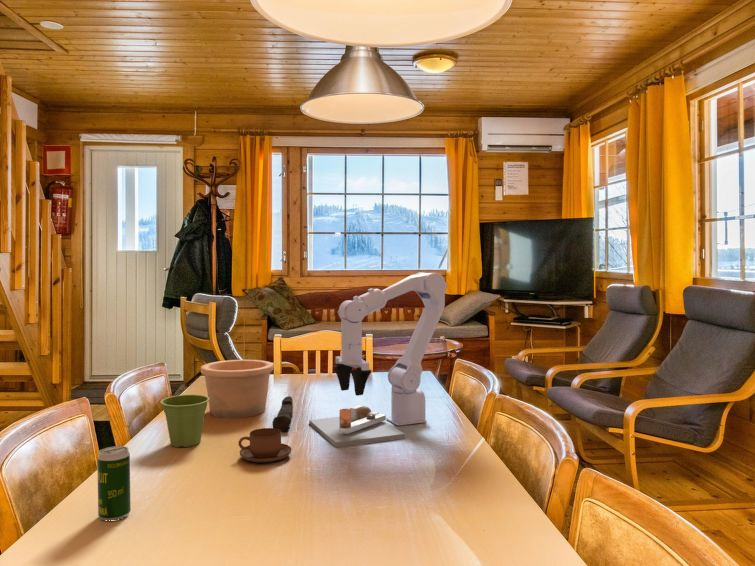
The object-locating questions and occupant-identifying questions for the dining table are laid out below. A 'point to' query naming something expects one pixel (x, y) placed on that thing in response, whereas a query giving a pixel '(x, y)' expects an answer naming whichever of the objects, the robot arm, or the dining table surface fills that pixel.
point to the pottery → (237, 387)
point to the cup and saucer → (264, 446)
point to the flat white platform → (362, 436)
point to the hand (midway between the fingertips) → (352, 392)
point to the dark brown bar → (284, 415)
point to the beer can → (113, 483)
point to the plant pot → (185, 418)
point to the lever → (350, 427)
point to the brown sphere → (364, 412)
